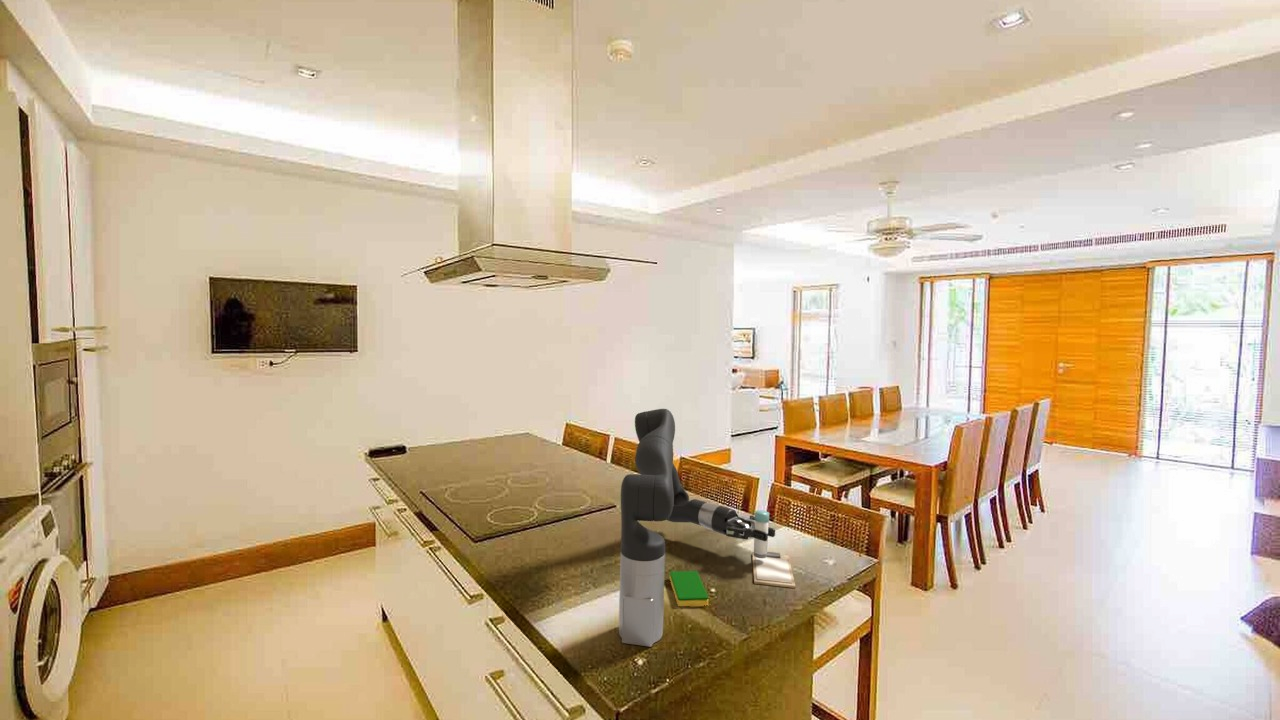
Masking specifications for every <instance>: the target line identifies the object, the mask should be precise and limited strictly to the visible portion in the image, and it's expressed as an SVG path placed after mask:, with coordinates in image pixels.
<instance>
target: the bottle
mask: <svg viewBox="0 0 1280 720" xmlns="http://www.w3.org/2000/svg"><path fill="white" fill-rule="evenodd" d="M754 517H755V529H756V530H759V531H763V532H766V533H767V534H768V527H769V522H770V512H768V511H765V510H763V509H762V510H761V509H758V510H755V511H754ZM768 541H769V540H767V541H762V540H759V539H756V538H753V552H754V556H755V557H757V558H766V557H767V552H768Z"/></svg>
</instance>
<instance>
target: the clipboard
mask: <svg viewBox="0 0 1280 720" xmlns="http://www.w3.org/2000/svg"><path fill="white" fill-rule="evenodd" d="M752 569H753V582H754V583H753V584H755V585H756V584H757V585H763V586H764V585H765V586H772V587H781V588H791V589H796V583H795V579H794V574H793V570H792V565H791V561H790V556H789V555H785V554H784V555H783V554H781V552H773V551H767V557H766V558H757V557H755V556H754V551H752Z"/></svg>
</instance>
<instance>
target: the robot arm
mask: <svg viewBox="0 0 1280 720" xmlns="http://www.w3.org/2000/svg"><path fill="white" fill-rule="evenodd" d="M634 428H635V429H634V430H635V433H636V437H637V440H638V444H637V447H636V450H635V456H634V464H635V467H636V469H637V471H638V473H639V474H638V473H637V474H636V473H634V474H633V473H630V474H626V475H625V476H624V477H623V480H622V482H621V486H620V487H621V488H620V516H621V517H620V518H621V519H620V520H621V521H620V523H621V525H620V526H621V527H620V528H621V531H620V532H621V534H620V535H621V536H620V539H621V540H620V562H619V563H620V565H619V566H620V567H619V568H620V569H619V599H618V601H619V602H618V604H619V605H618V634H619V637H620V638H621V643H622V644H629V645H637V646H641V647H642V646H643V647H650V648H651V647H653V645H654V643H656V642H658V641H660V640H661V638H662V637H663V634H664V606H665V605H664V604H665V603H664V602H665V600H664V599H665V568H666V565H665V564H666V563H665V562H666V541H665V537H663V536H662V535H661V534H659V533H658V532H656V531H653V530H650V529H649V528H647V527H645V526H644V525H643V524H641V521H642V522H665V521H667V522H671V523H688V524H689V523H692V524H693V525H694V524H695V525H697V526H700V527H703V528H704V529H706V530H710V531H712V532H715V533H717V534H722V535H724V536H726V537H729V538H733V539H741V540H749V539H754V538H756V539H759V540H762V541H767V540H768V539H769V537H771V538H774V537H775V536H776V529H775V528H773V527H771V526H770V527H769V526H768V534H767V533H766V532H763V531H759V530H756V529H755V515H749V518H747V517H745V516H739V515H738V513H737V510H736V509H733V508H731V507H730V508H729V507H727V506H724V505H720V504H716V503H711V502H706V501H703V500H700V499H695V498H694V499H691V500H690V497H689V494H688V493H687V491H686V490H685V487H684V486H683V485H682V484H681V481H680V477H679V474H678V470H677V466H676V465H675V464H674V440H675V435H676V423H675V418H674V415H673V414H672V411H671V410H669V409H667V408H656V409H653V410H652V409H651V410H647V411H642V412H639V413H637V414H636V415H635V418H634ZM768 541H769V540H768Z"/></svg>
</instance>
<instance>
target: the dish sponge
mask: <svg viewBox="0 0 1280 720" xmlns="http://www.w3.org/2000/svg"><path fill="white" fill-rule="evenodd" d="M669 581H671V582H670V585H671V589H672V591H674V592H673V595H674V594H675V595H674V599H675V600H676V604H678V605H677V607H679V606H690V607H707V606H706V605H708V606H709V595H708V592H707V591H706V588H705V587H704V584H703V582H702V579H701V577H700V575H699V572H698V571H697V570H684V571H683V570H681V571H680V570H679V571H676V570H675V571H669ZM704 605H705V606H704Z"/></svg>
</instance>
